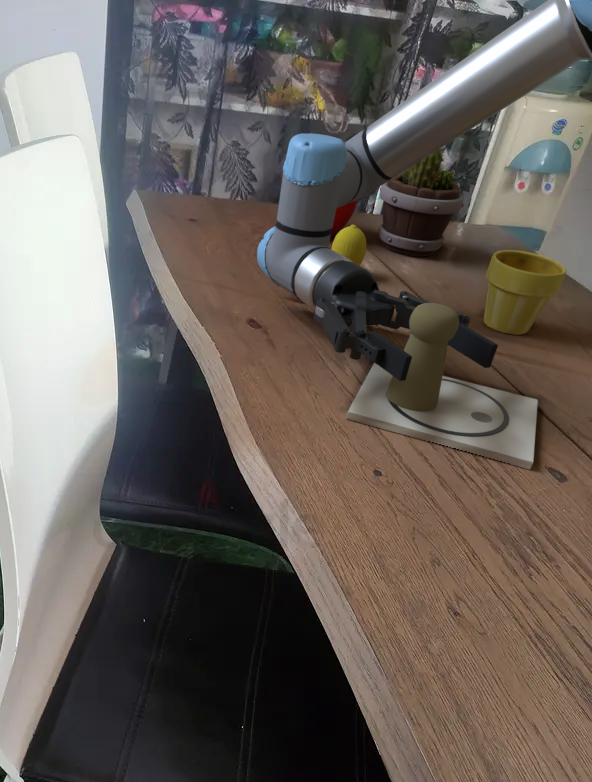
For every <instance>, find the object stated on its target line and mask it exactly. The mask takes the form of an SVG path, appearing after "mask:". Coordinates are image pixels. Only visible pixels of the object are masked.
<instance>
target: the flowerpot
mask: <svg viewBox="0 0 592 782" xmlns="http://www.w3.org/2000/svg"><path fill="white" fill-rule="evenodd" d="M447 156H448V155H446V154H445V151H444V150H441V149H438V150H437V151H435V152H434V153H432V154H430V155H429V156H427V157H426V158H424V159H422V160H421V161H419V162H418V163H416V164H414V165H413V166H411V167H410V168H408V169H406V170H405V171H403V172H402V173H400V174H398V175H397V176H395V177H394V178H392V179H391V180H389V181H388V182H386V183H385V184H383V185H382V186H380V188H379V189H378V190H379V191H380V192H379V197H380V199H381V201H383V204H382V205H383V206H382V223H381V224H380V225H379V228H378V236H379V239H380V240H381V244H382V246H383V247H384V248H385V249H387V250H389V251H392V252H393V253H394V252H395V253H397V254H403V255H406V256H410V257H430V256H432V255H433V256H434V254H435V253H436V251H437V250H440V248H441V247H442V246H444V242H445V236H444V233H445V231H446V229H447V227H448V226H449V224H450V222H451V220H452V218H453V215H454V214H457V213H459V212H460V211H461V209H462V208H463V207H464V206H465V203H464V196H463V195H462V194H461V193H460V192H461V191H460V187H459V185H457V184H456V183H455V182H454V181H455V179H454V175H455V173H453V172H455V170H454V169H452V170H451V171H448V170H449V168H450V166H446V167H444V166H443V165H442V163H446V161H447V160H449V159H446V158H447Z"/></svg>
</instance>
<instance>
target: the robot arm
mask: <svg viewBox="0 0 592 782" xmlns="http://www.w3.org/2000/svg"><path fill="white" fill-rule="evenodd" d="M581 61H589V62H590V61H591V62H592V0H546V1H544V2H543V3H542V4H540V5H539V6H537V7H535V8H534V9H533V10H532V11H530V12H529V13H527V14H526V15H524V16H523V17H522V18H520V19H519V20H518V21H516V22H514V23H513V24H512V25H510V26H509V27H507V28H506V29H505V30H503V31H501V33H498V34H497V35H496V36H495V37H493V38H492V39H490V40H489V41H488V42H486V43H485V44H484V45H482V46H480V47H479V48H478V49H476V50H475V51H473V52H472V53H470V54H469V55H468V56H466V57H464V58H463V59H462V60H460V61H459V62H458V63H456V64H455V65H453V66H452V67H451V68H448V70H446V71H445V72H443V73H442V74H441V75H439V76H437V77H436V78H435V79H434V80H432V81H431V82H429V83H428V84H427V85H425V86H423V87H422V88H421V89H420V90H418V91H416V92H415V93H413V94H412V95H411V96H409V97H408V98H407V99H405V100H404V101H402V102H401V103H400V104H398V105H396V106H395V107H394V108H392V109H391V110H390V111H388V112H387V113H385V114H384V115H382V116H380V117H379V118H378V119H377V120H375V121H373V122H372V123H371V124H369V125H368V126H367V127H366V128H365V129H362V130H361V131H359V132H358V133H356V134H355V135H353V136H352V137H351V138H350V139H348V140H346V141H344V140H343V139H342V138H338V137H335V136H331V135H326V134H320V133H298V134H295V135H294V136H292V137H291V138H290V140H289V143H288V147H287V152H286V156H285V161H284V162H283V166H282V179H281V186H280V192H279V193H280V194H279V199H278V207H277V208H278V209H277V216H276V222H275V224H274V226H273V227H271V228H270V229H268V230H267V231H266V232H265V233H264V235H263V237H262V239H261V241H260V242H258V243H259V244H258V246H257V250H256V260H257V263H258V266H259V269H260V270H261V271H262V272H263V274H264V275H266V277H268V278H269V279H270V281H271V282H272V283H274V284H275V285H276V286H277V287H280V288H281V289H283V290H285V291H287V292H288V293H290V294H292V295H293V296H294V297H296V299H298V300H299V301H301V302H302V303H304V304H305V305H307V306H308V307H310V308H311V309H312V310H313V311H314V315H313V320H314V321H316V322H317V323H318V324H319V325H320V326H321V327H322V329H323V331H324V332H325V334H326V337H327V338H328V340H329V341H330V344H331V346H332V348H333V350H334V351H335V352H336V353H339V354H343V353H346V350H350V353H349V358H350V359H351V360H355V361H359V360H361V357H362V356H364V357H365V358H366V359H368V360H369V361H371V362H373V364H374V363H376V364H377V365H379V366H380V367H381V368H383V369H384V370H385V371H387V372H388V373H390V374H391V375H392V376H394V377H395V378H396V379H398V380H399V381H403V380H406V377H407V373H408V370H409V366H410V363H411V359H412V356H411V355H409V354H408V353H406V352H405V351H404V349H403V348H401V347H399V346H398V345H396V344H395V343H393V342H392V341H391V340H389V339H387V338H386V337H384V336H383V335H382V334H380V333H378V331H375V330H373V331H369V332H368V329H367V328H368V327H373V326H383V327H386V328H389V329H393V330H399V329H400V328H404V329H407V330H410V327H409V320H410V316H411V314H412V312H413V311H414V309H415V308H416V307H417V306H418V305H421V304H424V303H432V302H431V301H428V300H425V299H422V298H421V297H418V296H416V295H414V294H412V293H410V292H408V291H407V290H403V291H402V290H401V291H400V292H399V296H393V295H390V294H389V293H388V292H386V291H383V290H380V288H379V286H378V283H377V280H376V278H375V276H374V275H373V273H372V272H371V271H369V270H367V269H366V268H364V267H362V265H357V264H355V263H354V262H352V261H351V260H349V259H348V258H346V257H344V256H342V255H341V254H339V253H337V252H335V251H333V250H331V249H332V248H330V247H329V245H330V240H331V237H330V236H331V232H332V228H333V222H334V217H335V213H336V208H339V207H341V206H344V205H346V204H348V203H351V202H353V201H357V200H358V201H362V200H364V199H366V198H368V197H370V196H371V195H373V194H374V193H376V192H377V191H378V190H379V189H380V187H382V185H383V184H385V183H386V182H388V181H389V180H391V179H392V178H394V177H395V176H397V175H398V174H400V173H403V172H404V171H405V170H406V169H408V168H410V167H411V166H413V165H414V164H416V163H418V162H419V161H421V160H422V159H424V158H426V157H427V156H429V155H430V154H432V153H434V152H435V151H437V150H438V149H439V150H441V149H443V148H444V147H445V146H446V145H449V144H450V143H451V142H453V141H454V140H456V139H457V138H460V137H461V136H462V135H465V134H466V133H467V132H469V131H471V130H472V129H474V128H475V127H477V126H479V125H481V124H482V123H483V122H485V121H486V120H489V118H492V117H493V116H494V115H496V114H498V113H499V112H501V111H502V110H504V109H506V108H507V107H509V106H511V105H512V104H515V102H517V101H519V100H520V99H521V98H523V97H525V96H527V95H528V94H530V93H531V92H532V91H535V90H536V89H538V88H539V87H541V86H542V85H544V84H545V83H547V82H549V81H550V80H552V79H554V78H556V77H557V76H559V75H561V74H562V73H564V72H565V71H566V70H568V69H570V68H572V67H573V66H574V65H576V64H578V63H579V62H581ZM454 311H455V312H456V313H457V314H458V317H459V326H458V329H457V332H456V334H455V335H454V337H453V338H452V339H450V340H449V341H448V346H449V347H450V348H452V349H454V350H455V351H456V352H458V353H460V354H461V355H463V356H465V357H466V358H468V359H470V360H471V361H473V362H474V363H476V364H478V365H479V366H480V367H482V368H484V369H489V368H491V366H492V364H493V361H494V358H495V355H496V352H497V349H498V347H499V345H498V344H497V343H496V342H494V341H492V340H491V339H489V338H487V337H485V336H484V335H482V334H480V333H478V332H477V331H475V330H473V329H472V328H470V327H469V324H470V321H471V317H470V316H469V315H467V314H465V313H463V312H458V311H456V310H454ZM395 312H396V315H395V318H394V320H392V319H393V317H394V313H395ZM367 332H368V335H367Z"/></svg>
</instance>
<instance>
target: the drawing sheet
mask: <svg viewBox="0 0 592 782" xmlns="http://www.w3.org/2000/svg"><path fill="white" fill-rule="evenodd" d="M392 377H393V376H392V375H391V374H390V373H388V372H387V371H385V370H384V369H383V368H381V367H380V366H379V365H377V364H376V363H374V362H373V364H372V366H371V369H370V370H369V372H368V373H367V375H366V377H365V379H364V381H363V382H362V384H361V386H360V388H359V390H358V392H357V394H356V396H355V398H354V400H353V401H352V403H351V405H350V406H349V408H348V411H347V414H346V420H348V421H352V422H356V423H359V424H363V425H367V426H370V427H374V428H378V429H381V430H384V431H387V432H391V433H395V434H399V435H403V436H407V437H410V438H414V439H418V440H421V441H424V440H425V441H424V442H428V441H430V442H429V443H432V442H434V443H433V444H435V443H437V444H436V445H439V444H441V445H440V446H442V445H444V446H443V447H446V446H448V447H447V448H450V447H451V448H450V449H453V448H456V449H455V450H457V449H459V450H458V451H460V450H463V451H462V452H464V451H467V452H466V453H468V452H470V453H469V454H471V453H473V454H472V455H475V454H477V455H476V456H479V455H481V456H480V457H482V456H484V457H483V458H486V457H487V458H486V459H489V458H492V459H491V460H493V459H495V460H494V461H497V460H498V461H497V462H500V461H502V462H501V463H504V462H505V463H504V464H508V463H509V464H508V465H512V466H515V467H518V468H522V469H526V470H531V469H532V467H533V465H534V459H535V445H536V432H537V431H536V430H537V417H538V404H539V401H538V399H536V398H533V397H529V396H524V395H521V394H516V393H513V392H509V391H505V390H501V389H497V388H492V387H489V386H485V385H482V384H478V383H477V384H476V383H474V382H469V381H465V380H461V379H457V378H453V377H450V376H446V375H443V376H442V381H441V387H440V393H439V399H438V404H437V407H436V408H434V409H432V410H428V411H415V410H409V409H405V408H402V407H400V406H398V405H395V404H394V403H392V402H391V401H389V399H388V398H387V397H386V391H387V388H388V386H389V384H390V381H391V379H392Z"/></svg>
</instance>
